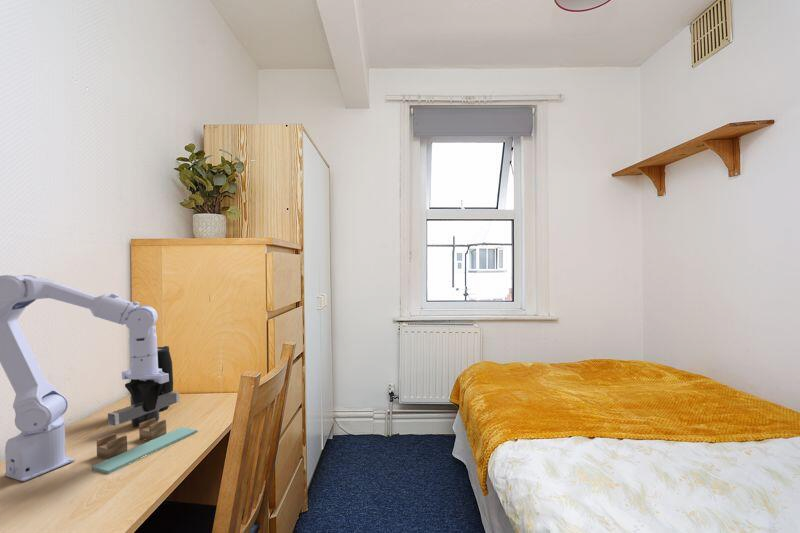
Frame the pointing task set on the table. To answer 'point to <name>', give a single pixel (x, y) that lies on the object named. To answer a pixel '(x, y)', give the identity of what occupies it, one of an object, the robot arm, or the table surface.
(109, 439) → the cradle left
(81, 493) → the table surface
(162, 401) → the rail
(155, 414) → the supplement bottle
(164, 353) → the portable speaker
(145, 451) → the mat
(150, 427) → the cradle right
